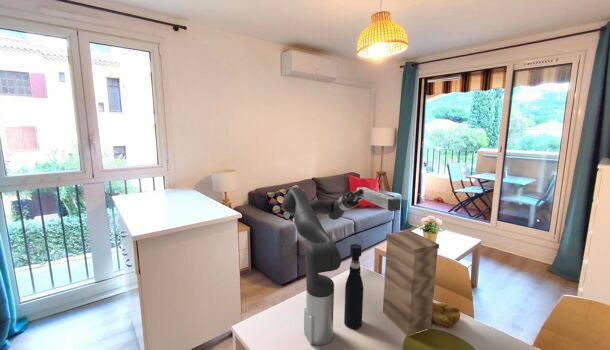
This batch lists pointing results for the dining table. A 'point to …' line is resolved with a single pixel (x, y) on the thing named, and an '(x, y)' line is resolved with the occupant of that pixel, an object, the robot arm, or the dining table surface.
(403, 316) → the walnut stand
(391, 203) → the aluminium bar
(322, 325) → the robot arm
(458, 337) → the dining table surface
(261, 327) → the dining table surface
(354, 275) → the wine bottle
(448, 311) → the bread roll
